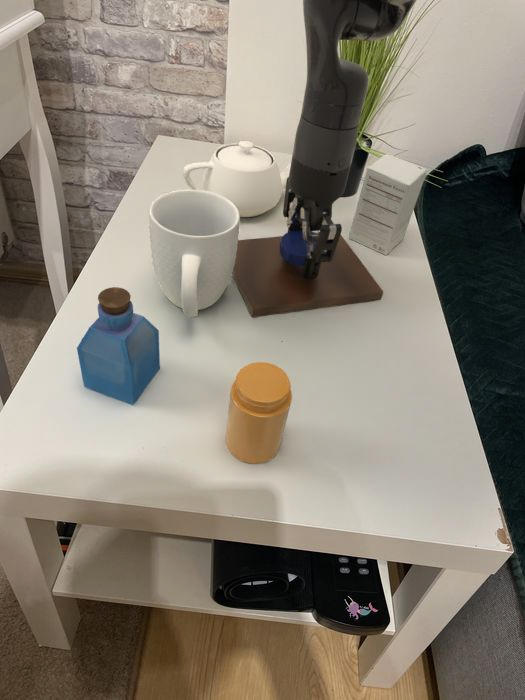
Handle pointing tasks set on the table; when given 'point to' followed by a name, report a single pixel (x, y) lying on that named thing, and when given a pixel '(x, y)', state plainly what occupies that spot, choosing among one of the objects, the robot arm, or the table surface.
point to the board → (298, 279)
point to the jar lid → (294, 247)
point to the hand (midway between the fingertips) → (300, 263)
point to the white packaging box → (386, 203)
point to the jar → (258, 412)
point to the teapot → (242, 177)
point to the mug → (193, 246)
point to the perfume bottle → (119, 349)
